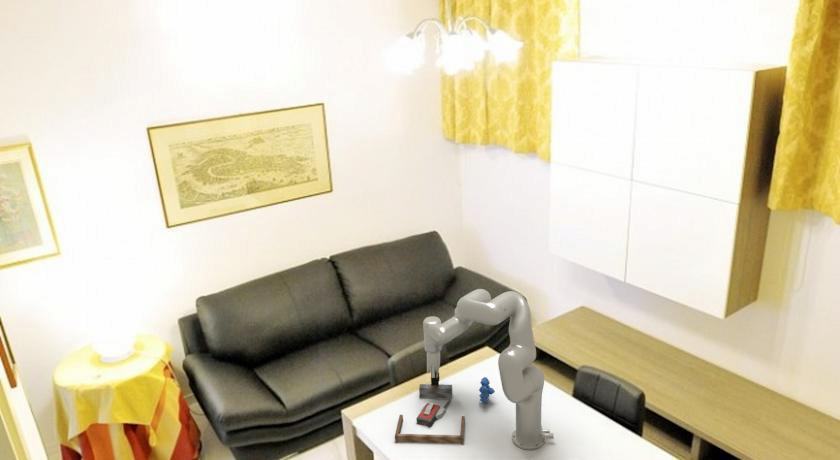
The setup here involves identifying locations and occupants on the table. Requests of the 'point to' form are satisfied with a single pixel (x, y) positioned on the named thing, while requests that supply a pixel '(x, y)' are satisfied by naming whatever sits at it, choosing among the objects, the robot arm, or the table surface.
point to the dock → (429, 438)
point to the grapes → (485, 390)
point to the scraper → (435, 391)
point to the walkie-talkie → (431, 414)
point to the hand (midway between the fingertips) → (435, 382)
